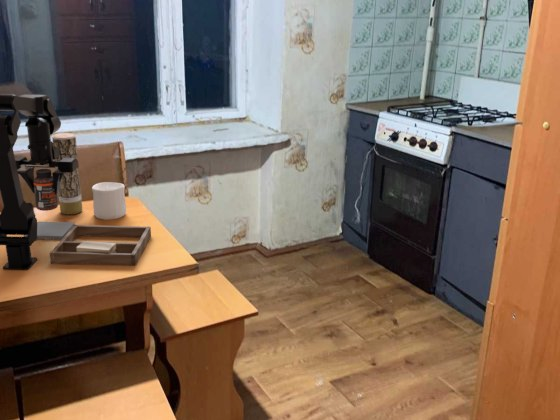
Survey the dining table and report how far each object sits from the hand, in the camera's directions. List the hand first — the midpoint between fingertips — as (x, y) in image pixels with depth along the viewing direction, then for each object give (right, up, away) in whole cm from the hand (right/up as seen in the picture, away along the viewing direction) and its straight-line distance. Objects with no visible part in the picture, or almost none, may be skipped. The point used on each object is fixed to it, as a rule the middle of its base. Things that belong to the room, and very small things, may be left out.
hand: (45, 193), depth 170 cm
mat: (0, -11, +4) cm, 12 cm away
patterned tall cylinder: (0, -6, +21) cm, 21 cm away
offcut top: (+19, -16, -13) cm, 28 cm away
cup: (+13, -7, +19) cm, 24 cm away
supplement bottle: (0, -4, +2) cm, 5 cm away
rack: (+19, -16, -6) cm, 25 cm away
